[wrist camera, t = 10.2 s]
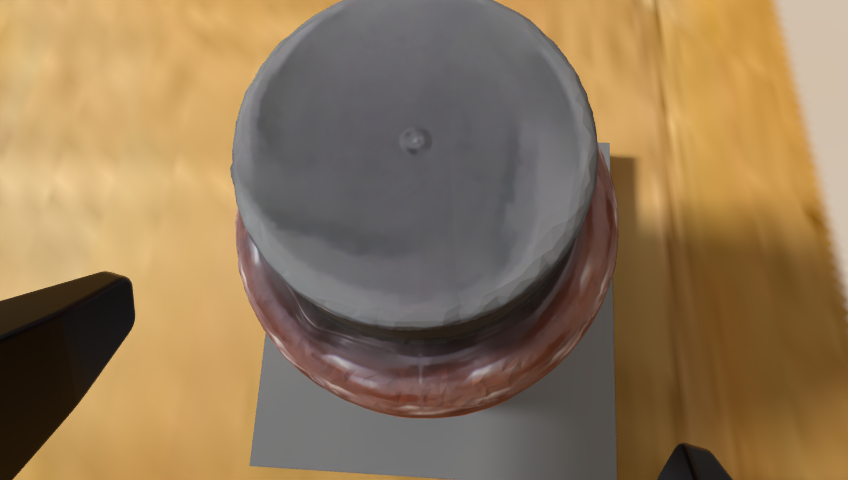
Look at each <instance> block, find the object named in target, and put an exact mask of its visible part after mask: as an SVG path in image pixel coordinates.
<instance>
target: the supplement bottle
mask: <svg viewBox="0 0 848 480" xmlns="http://www.w3.org/2000/svg"><path fill="white" fill-rule="evenodd" d="M232 156H233V163H232V165H231V168H230V169H231V177H232V180H233V184H234V187H235V195H236V202H237V206H238V208H237V216H236V222H235V224H236V245H237V252H238V258H239V262H238V266H239V272H240V275H241V278H242V281H243V284H244V288H245V292H246V294H247V296H248V299H249V301H250V304H251V306H252V308H253V310H254V312H255V314H256V316H257V318H258V320H259V322H260V323H261V325H262V327H263V329H264V330H265V332H266V333H267V334H268V336H269V337H270V339H271V340H272V342H273V343H274V344H275V346H276V347H277V348H278V350H279V351H280V352H281V353H282V355H283V356H284V357H285V358H286V359H287V360H288V361H289V362H290V363H291V364H292V365H293V366H295V367H296V368H297V369H298V370H299V371H300V372H301V373H303V374H304V375H305V376H307V377H308V378H309V379H310V380H312V381H313V382H314V383H316V384H317V385H318V386H320V387H322V388H324V389H326V390H327V391H329V392H331V393H333V394H334V395H336V396H338V397H340V398H342V399H343V400H346V401H348V402H350V403H353V404H355V405H358V406H360V407H363V408H366V409H369V410H372V411H375V412H378V413H382V414H387V415H392V416H396V417H404V418H445V417H455V416H462V415H467V414H471V413H474V412H477V411H481V410H484V409H488V408H491V407H493V406H495V405H498V404H500V403H502V402H505V401H507V400H509V399H510V398H512V397H514V396H515V395H517V394H519V393H520V392H522V391H524V390H525V389H527V388H529V387H530V386H532V385H533V384H535V383H536V382H538V381H539V380H540V379H542V378H543V377H544V376H546V375H547V374H548V373H549V372H551V371H552V370H553V369H554V368H556V367H557V366H558V365H559V364H560V363H561V362H562V361H563V360H564V359H565V358H566V357H567V356H568V355H569V354H570V353H571V351H572V350H573V349H574V348H575V347H576V346H577V344H578V343H579V342H580V340H581V339H582V338H583V336H584V335H585V333H586V332H587V330H588V329H589V327H590V326H591V324H592V323H593V321H594V319H595V317H596V315H597V313H598V311H599V310H600V308H601V306H602V304H603V302H604V299H605V296H606V293H607V291H608V288H609V285H610V282H611V278H612V275H613V272H614V268H615V264H616V256H617V247H618V220H619V214H618V208H617V200H616V196H615V190H614V186H613V183H612V178H611V175H610V172H609V170H608V167H607V165H606V161H605V158H604V155H603V154H602V152H601V150H600V148H599V146H598V144H597V134H596V127H595V122H594V118H593V111H592V109H591V107H590V104H589V102H588V97H587V93H586V91H585V90H584V88H583V86H582V84H581V82H580V79H579V76H578V75H577V73H576V72H575V70H574V68H573V67H572V66H571V64H570V63H569V62H568V60H567V58H566V57H565V56H564V54H563V53H562V52H561V51H560V49H559V48H558V47H557V45H556V44H555V43H554V42H553V41H552V40H551V39H549V38H548V37H547V36H546V35H545V34H544V33H543V32H542V31H541V30H540V29H539V28H538V27H537V26H536V25H535V24H534V23H533V22H532V21H530V20H529V19H527V18H526V17H524V16H523V15H521V14H519V13H518V12H516V11H514V10H512V9H510V8H508V7H506V6H504V5H502V4H500V3H497V2H495V1H493V0H343V1H340V2H338V3H336V4H334V5H332V6H330V7H329V8H327V9H325V10H323V11H321V12H320V13H318V14H316V15H314V16H313V17H311V18H310V19H309V20H307V21H306V22H305V23H304V24H302V25H301V26H300V27H298V28H297V29H296V30H295V31H294V32H293V33H292V34H291V35H290V36H289V37H287V38H285V39H284V40H283V41H281V42H280V43H279V44H278V46H277V47H276V48H275V49H274V51H273V52H272V53H271V54H270V55H269V57H268V58H267V60H266V61H265V62H264V63H263V65H262V66H261V67H260V69H259V70H258V72H257V74H256V76H255V78H254V80H253V82H252V83H251V85H250V86H249V88H248V89H247V91H246V92H245V95H244V99H243V102H242V104H241V107H240V111H239V116H238V118H237V121H236V128H235V135H234V142H233V151H232Z"/></svg>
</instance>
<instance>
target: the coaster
mask: <svg viewBox="0 0 848 480" xmlns="http://www.w3.org/2000/svg"><path fill="white" fill-rule="evenodd" d="M597 144H598V146H599V148H600V150H601V152H602V154H603V155H604V158H605V161H606V165H607V167H608V170H609V172H610V147H609V143H597ZM250 466H259V467H274V468H289V469H304V470H319V471H334V472H349V473H364V474H379V475H394V476H409V477H424V478H440V479H455V480H617V453H616V409H615V366H614V322H613V278H611V282H610V285H609V288H608V291H607V293H606V296H605V299H604V302H603V304H602V306H601V308H600V310H599V311H598V313H597V315H596V317H595V319H594V321H593V323H592V324H591V326H590V327H589V329H588V330H587V332H586V333H585V335H584V336H583V338H582V339H581V340H580V342H579V343H578V344H577V346H576V347H575V348H574V349H573V350H572V351H571V353H570V354H569V355H568V356H567V357H566V358H565V359H564V360H563V361H562V362H561V363H560V364H559V365H558V366H557V367H556V368H554V369H553V370H552V371H551V372H549V373H548V374H547V375H546V376H544V377H543V378H542V379H540V380H539V381H538V382H536V383H535V384H533V385H532V386H530V387H529V388H527V389H525V390H524V391H522V392H520V393H519V394H517V395H515V396H514V397H512V398H510V399H509V400H507V401H505V402H502V403H500V404H498V405H495V406H493V407H491V408H488V409H484V410H481V411H477V412H474V413H471V414H467V415H462V416H455V417H445V418H404V417H396V416H392V415H387V414H382V413H378V412H375V411H372V410H369V409H366V408H363V407H360V406H358V405H355V404H353V403H350V402H348V401H346V400H343V399H342V398H340V397H338V396H336V395H334V394H333V393H331V392H329V391H327V390H326V389H324V388H322V387H320V386H318V385H317V384H316V383H314V382H313V381H312V380H310V379H309V378H308V377H307V376H305V375H304V374H303V373H301V372H300V371H299V370H298V369H297V368H296V367H295V366H293V365H292V364H291V363H290V362H289V361H288V360H287V359H286V358H285V357H284V356H283V355H282V353H281V352H280V351H279V350H278V348H277V347H276V346H275V344H274V343H273V342H272V340H271V339H270V337H269V336H268V334H267V333H266V336H265V344H264V352H263V360H262V369H261V377H260V385H259V393H258V401H257V410H256V418H255V426H254V434H253V442H252V451H251V459H250Z"/></svg>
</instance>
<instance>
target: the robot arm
mask: <svg viewBox="0 0 848 480" xmlns="http://www.w3.org/2000/svg"><path fill="white" fill-rule="evenodd" d="M134 321H135V308H134V298H133V287H132V283H131V281H130V279H129V278H127V277H125V276H122V275H119V274H115V273H112V272H107V271H104V272H99V273H96V274H93V275H89V276H86V277H82V278H79V279H75V280H72V281H68V282H65V283H61V284H58V285H54V286H51V287H47V288H44V289H40V290H37V291H34V292H30V293H27V294H23V295H20V296H16V297H13V298H9V299H6V300H2V301H0V480H13V479H14V478H15V476H16V475H17V474H18V473H19V472H20V471H21V469H22V468H23V467H24V466H25V465H26V464H27V463H28V461H29V460H30V459H31V458H32V457H33V456H34V455H35V453H36V452H37V451H38V450H39V449H40V448H41V447H42V445H43V444H44V443H45V442H46V441H47V440H48V439H49V437H50V436H51V435H52V434H53V433H54V432H55V431H56V429H57V428H58V427H59V426H60V425H61V424H62V423H63V421H64V420H65V419H66V418H67V417H68V416H69V414H70V413H71V412H72V411H73V410H74V408H75V407H76V406H77V405H78V403H79V402H80V401H81V399H82V398H83V397H84V396H85V394H86V393H87V391H88V390H89V389H90V387H91V386H92V384H93V383H94V382H95V380H96V379H97V377H98V376H99V375H100V373H101V372H102V370H103V369H104V368H105V366H106V365H107V363H108V362H109V360H110V359H111V358H112V356H113V355H114V353H115V352H116V351H117V349H118V348H119V346H120V345H121V344H122V342H123V341H124V339H125V338H126V337H127V335H128V334H129V332H130V331H131V329H132V327H133V324H134ZM657 480H732V478H731V477H730V476H729V474H728V473H727V472H726V471H725V469H724V468H723V467H722V465H721V464H720V463H719V461H718V460H717V459H716V458H715V456H714V455H713V454H712V453H711V452H710V451H709V450H707V449H704V448H701V447H698V446H694V445H691V444H688V443H680V444H679V445H677V447H676V448H675V449H674V451H673V453H672V454H671V456H670V458H669V459H668V461H667V463H666V465H665V466H664V468H663V470H662V471H661V473H660V475H659V477H658V479H657Z"/></svg>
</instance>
